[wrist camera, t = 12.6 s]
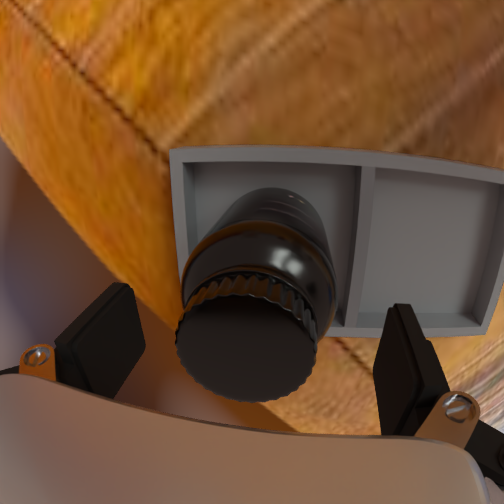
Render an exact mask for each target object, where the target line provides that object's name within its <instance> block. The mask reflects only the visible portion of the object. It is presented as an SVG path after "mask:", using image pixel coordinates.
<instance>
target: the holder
mask: <svg viewBox="0 0 504 504" xmlns="http://www.w3.org/2000/svg"><path fill="white" fill-rule="evenodd" d="M169 156H170V174H171V190H172V204H173V216H174V228H175V239H176V249H177V259H178V269H179V278H180V284H181V277H182V273H183V269H184V267H185V264H186V262H187V260H188V258H189V256H190V255H191V253H192V251H193V250H194V248H195V247H196V246H197V245H198V243H199V242H200V241H201V240H202V239H203V237H204V236H205V235H206V234H207V233H208V231H209V230H210V229H211V228H212V227H213V226H214V224H215V223H216V222H217V221H218V220H219V218H220V217H221V216H222V215H223V214H224V213H225V212H226V210H227V209H228V208H229V207H230V206H231V205H232V204H233V203H234V202H235V201H236V200H237V199H239V198H240V197H241V196H243V195H245V194H246V193H248V192H251V191H253V190H256V189H260V188H267V187H275V188H283V189H287V190H290V191H292V192H295V193H297V194H299V195H300V196H302V197H303V198H305V199H306V200H307V201H308V202H309V203H310V204H311V205H312V206H313V207H314V208H315V210H316V211H317V212H318V214H319V216H320V218H321V220H322V222H323V225H324V228H325V232H326V236H327V240H328V244H329V248H330V253H331V257H332V261H333V266H334V270H335V275H336V280H337V287H338V304H337V310H336V313H335V317H334V319H333V322H332V324H331V326H330V328H329V330H328V331H327V333H326V334H325V335H324V336H330V337H368V338H381V335H382V331H383V327H384V323H385V319H386V315H387V311H388V308H389V307H393V305H394V304H395V303H404V304H411V306H412V308H413V310H414V313H415V315H416V317H417V320H418V322H419V324H420V327H421V329H422V331H423V334H424V336H425V337H453V336H474V335H486V332H487V329H488V327H489V324H490V321H491V319H492V316H493V313H494V310H495V307H496V304H497V301H498V298H499V295H500V292H501V289H502V286H503V282H504V169H499V168H494V167H489V166H484V165H479V164H473V163H467V162H462V161H456V160H449V159H443V158H436V157H429V156H422V155H414V154H405V153H397V152H387V151H377V150H366V149H354V148H339V147H322V146H298V145H208V146H184V147H179V148H175V149H170V150H169Z"/></svg>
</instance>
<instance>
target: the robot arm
mask: <svg viewBox="0 0 504 504" xmlns="http://www.w3.org/2000/svg"><path fill="white" fill-rule="evenodd" d="M54 342H55V344H56V348H55V349H53V348H52V347H51V346H49V345H47V344H40V345H35V346H32V347H30V348H28V349H27V350H26V351H25V352H24V353H23V354H22V356H21V358H20V365H19V366H15V367H12V368H8V369H5V370H1V371H0V504H504V434H503V433H502V432H500V431H498V430H496V429H495V428H493V427H491V426H489V425H488V424H486V423H484V422H482V421H481V420H479V417H480V407H479V405H478V402H477V401H476V400H475V399H474V398H473V397H472V396H470V395H469V394H467V393H464V392H461V391H450V388H449V386H448V383H447V380H446V378H445V375H444V372H443V370H442V367H441V365H440V362H439V360H438V357H437V355H436V352H435V350H434V347H433V345H432V343H431V341H429V340H426V339H425V336H424V334H423V331H422V329H421V327H420V324H419V322H418V320H417V317H416V315H415V313H414V310H413V308H412V306H411V304H404V303H395V304H394V305H393V307H389V308H388V311H387V315H386V319H385V323H384V327H383V331H382V335H381V339H380V343H379V347H378V351H377V354H376V358H375V362H374V365H373V378H374V384H375V391H376V397H377V404H378V412H379V419H380V427H381V435H338V434H317V433H300V432H287V431H275V430H266V429H257V428H249V427H242V426H235V425H228V424H221V423H215V422H209V421H204V420H198V419H193V418H187V417H183V416H178V415H173V414H169V413H164V412H160V411H156V410H152V409H147V408H143V407H139V406H135V405H132V404H128V403H124V402H120V401H117V400H114V399H113V398H114V397H115V395H116V394H117V392H118V391H119V389H120V387H121V386H122V385H123V383H124V381H125V380H126V378H127V377H128V375H129V374H130V372H131V371H132V369H133V368H134V366H135V364H136V363H137V362H138V360H139V358H140V357H141V355H142V354H143V352H144V350H145V345H146V344H145V340H144V335H143V331H142V328H141V322H140V318H139V314H138V309H137V305H136V300H135V295H134V291H133V289H132V288H130V286H129V285H128V284H126V283H118V282H114V283H112V285H110V286H109V287H108V288H107V289H106V290H105V291H104V292H103V293H102V294H101V295H100V296H99V297H98V298H97V299H96V300H95V301H94V302H93V303H92V304H91V305H90V306H88V307H87V308H86V309H85V310H84V311H83V312H82V313H81V314H80V315H79V316H78V317H77V318H76V319H75V320H74V321H73V322H72V323H71V324H70V325H69V326H68V327H67V328H66V329H65V330H64V331H63V332H62V333H61V334H60V335H59V336H58V337H57V338H56V340H55V341H54Z"/></svg>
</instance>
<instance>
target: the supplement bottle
mask: <svg viewBox="0 0 504 504" xmlns="http://www.w3.org/2000/svg"><path fill="white" fill-rule="evenodd" d="M180 293H181V301H182V306H183V310H184V312H183V313H182V315H181V317H180V318H179V322H178V327H177V328H176V331H175V334H176V340H175V345H176V347H177V355H178V356H179V358H180V359H181V364H182V365H183V366H184V367H185V368H186V371H187V373H188V374H189V375H190V376H192V377H193V378H194V380H195V381H196V382H197V383H199V384H201V385H202V386H203V387H204V388H205V389H207V390H210V391H212V392H213V393H214V394H216V395H219V396H223V397H225V398H227V399H232V400H233V399H234V400H236V401H239V402H245V401H246V402H250V403H254V402H267V401H269V400H277V399H279V398H280V397H284V396H288V395H289V394H290V393H291V392H293V391H296V390H297V389H298V388H299V386H300V385H302V384H304V383H305V382H306V379H307V377H308V376H310V375H311V373H312V368H313V366H314V365H315V363H316V353H317V343H318V342H319V341H320V340H321V339H322V338H323V337H324V335H325V334H326V333H327V331H328V330H329V328H330V326H331V324H332V322H333V319H334V317H335V313H336V310H337V304H338V287H337V280H336V275H335V270H334V266H333V261H332V257H331V253H330V248H329V244H328V240H327V236H326V232H325V228H324V225H323V222H322V220H321V218H320V216H319V214H318V212H317V211H316V210H315V208H314V207H313V206H312V205H311V204H310V203H309V202H308V201H307V200H306V199H305V198H303V197H302V196H300V195H299V194H297V193H295V192H292V191H290V190H287V189H283V188H275V187H267V188H260V189H256V190H253V191H251V192H248V193H246V194H245V195H243V196H241V197H240V198H239V199H237V200H236V201H235V202H234V203H233V204H232V205H231V206H230V207H229V208H228V209H227V210H226V212H225V213H224V214H223V215H222V216H221V217H220V218H219V220H218V221H217V222H216V223H215V224H214V226H213V227H212V228H211V229H210V230H209V231H208V233H207V234H206V235H205V236H204V237H203V239H202V240H201V241H200V242H199V243H198V245H197V246H196V247H195V248H194V250H193V251H192V253H191V255H190V256H189V258H188V260H187V262H186V264H185V267H184V269H183V273H182V277H181V284H180Z"/></svg>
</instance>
